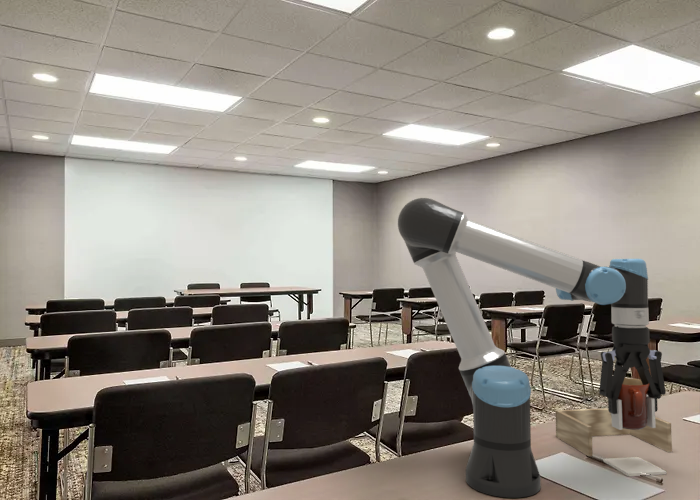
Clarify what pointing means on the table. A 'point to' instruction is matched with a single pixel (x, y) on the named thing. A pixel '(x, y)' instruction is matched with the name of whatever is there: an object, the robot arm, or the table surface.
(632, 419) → the mug
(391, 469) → the table surface
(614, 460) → the coaster
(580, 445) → the bay
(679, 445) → the table surface
